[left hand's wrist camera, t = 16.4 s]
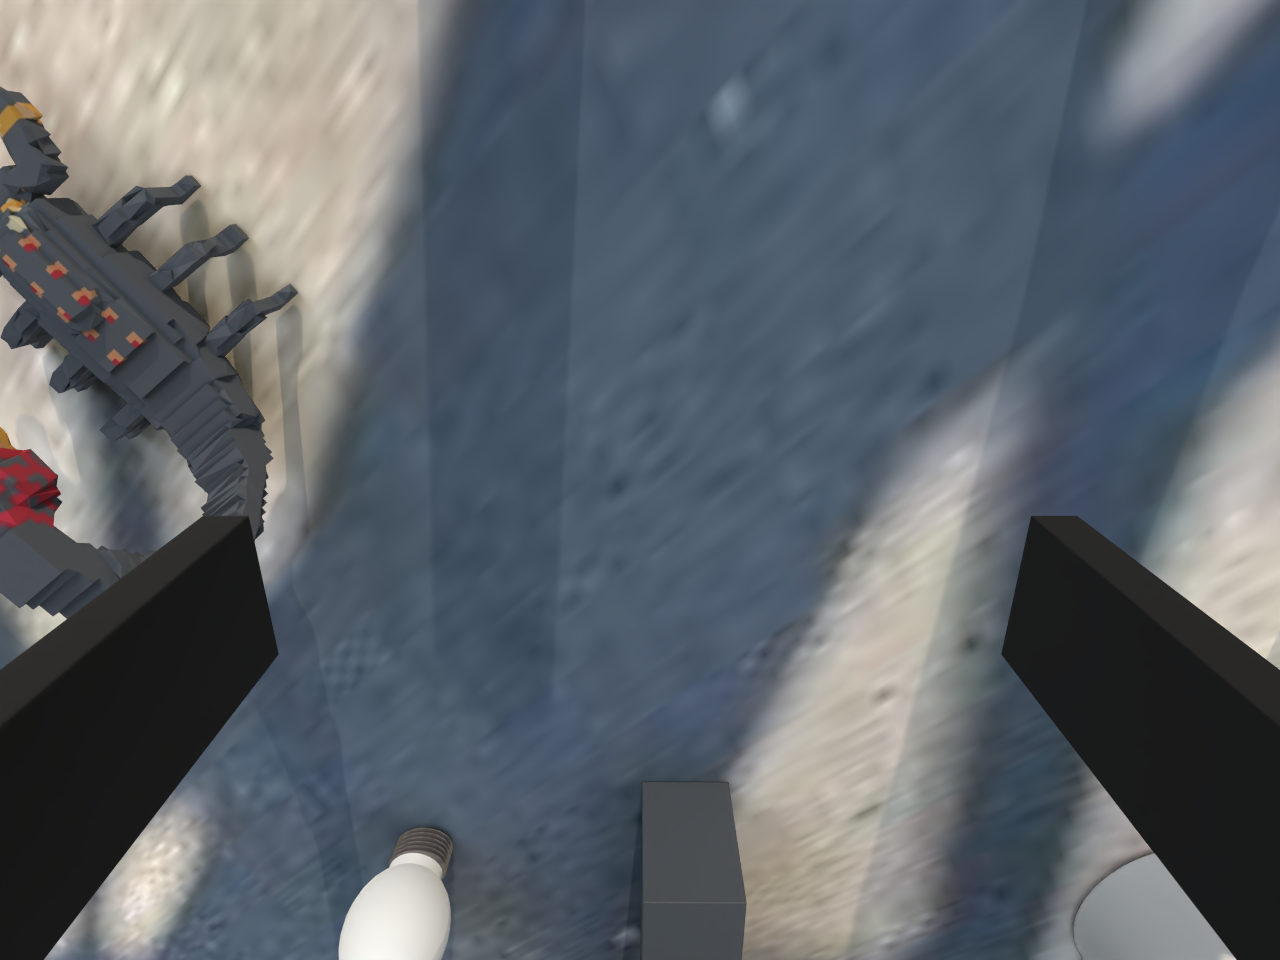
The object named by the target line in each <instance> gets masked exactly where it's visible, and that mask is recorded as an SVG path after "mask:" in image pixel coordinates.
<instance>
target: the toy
mask: <svg viewBox="0 0 1280 960" xmlns="http://www.w3.org/2000/svg"><path fill="white" fill-rule="evenodd" d="M41 117H42V115H41V113H40V112H39V111H38V110H37V109H36V108H35V107H34V106H33V105H32V104H31V103H30V102H29V101H28V100H27V99H26V98H25V97H24V96H23V95H22V93H19V92H12V91H7V90H5V89H3V88H2V87H0V136H1V138H2V140H3V142H4V144H5V146H6V148H7V150H8V152H9V154H10V156H11V158H12V159H13V161H14V162H15V164H16V165H12V166H4V167H2V168H1V169H0V277H1V276H2V275H3V276H4V278H6V279H7V280H8V281H9V282H10V285H11V286H12V287H13V288H14V289H15V290H16V291H17V292H19V293H20V294H21V295H22V296H23V297H24V298H25V299H26V301H25V302H24V303H23V304H22V305H21V306H20V307H19V308H18V310H17V311H16V312H15V314H14V315H13V316H12V318H11V319H10V320H9V322H8V323H7V325H6V326H5V327H4V329H3V332H2V335H1V338H2V339H3V340H4V341H6V342H7V343H8V344H9V346H10V348H11V349H14V348H18V347H22V346H25V345H29V344H31V345H32V346H33V347H34V348H44V347H45V345H46V344H47V343H48V342H49V341H50V340H51V339H52V338H55V339H56V340H57V341H58V342H59V343H60V344H61V345H62V346H63V347H64V348H66V349H67V350H68V351H69V352H70V353H69V354H68V355H66V356H65V358H64V362H63V363H62V364H61V365H60V366H59V367H58V368H57V369H56V370H55V371H54V372H53V374H52V377H51V380H50V386H51V387H53V388H54V389H55V390H56V391H57V392H58V393H63V392H65V391H67V390H70V389H72V388H75V389H76V390H77V392H79V391H82V390H85V389H87V388H88V387H89V386H90V385H92V384H93V383H94V382H95V381H96V380H97V379H98V378H99V379H100V380H101V381H102V382H103V383H105V384H107V385H108V386H110V387H111V388H112V389H113V390H114V391H115V392H116V393H117V394H118V395H119V396H120V397H121V398H123V399H124V400H125V401H126V402H127V404H126V405H125V406H124V407H123V408H122V409H121V410H120V411H119V412H117V413H116V414H115V415H114V416H113V417H112V418H111V419H110V420H109V421H108V422H107V423H106V424H105V425H104V426H103V427H102V428H101V429H100V431H101V432H102V433H103V434H104V435H106V436H107V437H108V438H109V439H110V440H111V441H112V442H115V441H116V440H118V439H120V438H121V437H123V436H126V437H127V438H128V439H131V438H133V437H135V436H137V435H138V434H140V433H141V432H142V431H143V430H144V429H145V428H146V427H147V426H149V425H150V424H149V423H148V422H147V421H146V420H145V419H144V417H145V418H146V419H147V420H148V421H149V422H150V423H151V424H152V425H153V427H154V428H155V429H156V430H159V429H165V430H166V431H167V432H168V434H169V435H170V437H171V438H172V439H171V441H172V442H173V443H174V444H175V445H176V446H177V447H178V450H177V451H178V452H179V453H180V454H181V455H182V456H183V457H184V458H185V459H186V460H187V463H188V467H189V469H190V470H191V471H192V473H193V474H194V477H195V478H196V479H197V480H196V481H195V482H196V483H197V484H198V485H199V486H200V487H201V488H203V489H204V490H205V492H207V493H208V499H207V503H206V504H205V505H203V506H202V507H201V509H202V510H203V511H204V513H203V514H202V515H203V516H249V519H250V524H251V529H252V533H253V538H254V541H255V539H256V538H257V537H258V536H259V535H260V534H261V533H262V532H263V531H264V527H263V523H264V522H265V521H264V520H263V519H262V515H263V514H264V513H265V512H266V511H264V510H263V509H262V508H261V507H263V506H264V505H265V504H266V503H267V502H266V501H265V500H264V499H263V498H264V497H265V496H266V495H267V494H268V493H267V492H266V491H265V490H264V489H265V488H266V479H267V478H268V475H267V472H266V466H265V465H266V464H267V463H269V462H270V461H271V460H272V459H273V457H272V456H271V455H270V453H272V452H271V451H270V450H269V449H268V448H267V447H266V446H265V445H264V443H265V442H266V441H265V440H264V439H263V438H262V437H264V434H263V432H262V431H261V424H262V423H263V422H264V421H265V419H264V418H263V416H262V414H261V412H260V410H259V409H258V408H257V406H256V405H255V404H254V402H253V401H252V399H251V398H250V396H249V395H248V393H247V392H246V390H245V389H244V388H243V386H242V384H241V381H240V380H241V379H240V377H239V375H238V373H237V372H236V370H235V369H234V368H233V366H232V365H231V363H230V362H229V361H228V359H227V358H226V357H224V356H225V355H226V354H227V353H228V352H229V351H230V350H231V349H232V348H233V347H234V346H235V345H236V344H237V343H238V342H239V341H240V340H241V339H242V338H243V337H244V336H245V335H246V334H247V333H248V332H249V331H251V330H252V329H253V328H255V327H256V326H257V325H258V324H260V323H261V322H262V321H264V320H265V319H266V318H267V317H266V316H265V315H267V314H269V313H271V312H274V311H277V310H279V309H281V308H282V307H283V306H284V305H285V304H286V303H287V302H289V301H290V300H291V299H292V298H293V297H294V296H295V295H296V294H298V292H297V291H296V290H295V289H294V288H293V287H292V286H291V284H289V285H288V286H286V287H285V288H283V289H281V290H280V291H278V292H277V293H275V294H274V295H273V296H271V297H268V298H265V299H262V300H259V301H256V302H252V301H251V300H250V299H249V300H246V301H244V302H242V303H241V304H240V305H239V306H238V307H237V308H236V309H235V310H234V311H233V312H232V313H231V314H230V315H229V316H225V317H224V318H223V319H222V320H221V321H220V322H219V323H218V324H217V325H216V326H215V327H214V328H213V329H212V330H211V331H210V332H209V333H208V331H209V327H210V326H209V325H208V324H207V323H206V322H205V321H204V319H203V318H202V317H201V316H200V315H199V314H198V313H197V312H196V311H195V309H194V308H193V307H192V306H191V305H190V304H189V303H187V302H185V301H182V300H181V298H180V297H179V296H178V294H177V293H176V292H175V290H174V289H173V288H172V287H174V286H176V285H178V284H179V283H181V282H182V281H183V280H184V279H185V278H187V277H188V276H189V275H190V274H191V273H193V272H194V271H195V270H196V269H197V268H199V267H200V266H201V265H202V264H203V263H205V262H206V261H207V260H208V259H209V258H211V257H219V256H226V255H228V254H231V253H233V252H235V251H236V250H237V249H238V248H239V247H240V246H241V245H242V244H243V243H244V242H245V241H246V240H248V239H249V238H248V237H247V236H246V235H245V234H244V233H243V231H242V230H241V229H240V228H239V227H238V226H237V225H236V224H233V225H229V226H228V227H227V228H225V229H224V230H223V231H222V232H220V233H219V234H218V235H216V236H215V237H212V238H210V239H208V240H201V241H195V242H192V243H189V244H186V245H184V246H183V247H182V248H181V249H180V250H179V251H178V252H177V253H175V254H174V255H173V256H172V257H171V258H170V259H169V260H168V261H167V262H166V263H165V264H164V265H162V266H161V267H160V268H159V269H158V270H156V269H155V268H154V267H153V266H152V264H151V263H150V262H149V261H148V260H147V259H146V258H145V257H144V256H143V255H142V254H141V253H140V252H139V251H130V252H128V251H127V250H126V249H125V248H124V247H123V245H122V243H123V242H124V241H125V240H126V238H127V237H128V236H129V235H130V234H131V233H132V232H133V231H134V230H135V229H136V228H137V227H138V226H140V225H141V224H143V223H144V222H145V221H146V220H148V219H149V218H150V217H151V216H152V215H154V214H155V213H156V212H157V211H158V210H160V209H161V208H162V207H164V206H167V205H177V204H183V203H184V202H185V201H186V200H187V199H188V198H189V197H190V196H191V195H192V194H193V193H194V192H195V191H196V190H197V189H198V188H199V187H200V186H201V185H200V184H199V183H198V182H197V181H196V180H195V178H194V177H193V176H185V177H183V178H182V179H181V180H180V181H179V182H177V183H176V184H175V185H173V186H171V187H158V188H143V187H139V186H136V187H134V188H133V189H132V190H131V191H130V192H128V193H127V194H126V195H125V196H124V197H123V198H121V199H120V200H119V201H118V202H117V203H116V204H115V205H114V206H113V207H111V208H110V209H109V210H108V211H107V212H106V213H105V214H104V215H103V216H102V217H100V218H99V219H98V220H97V219H96V218H95V217H94V216H93V215H88V214H87V213H86V212H85V211H84V210H83V209H82V208H81V207H80V206H79V204H78V203H76V202H74V201H73V200H71V199H69V198H46V197H45V196H44V194H45V195H51V194H52V193H53V192H54V191H55V190H56V189H57V188H58V187H59V186H60V185H61V184H62V183H63V182H64V181H65V180H66V179H67V178H68V177H69V176H68V174H67V173H66V170H67V168H68V167H67V166H65V165H64V164H63V163H61V161H60V159H59V158H58V157H57V156H58V155H59V154H60V153H61V151H60V150H59V149H58V147H57V146H56V145H55V144H54V143H53V141H52V140H51V139H50V138H49V136H50V135H51V134H50V133H49V132H47V131H46V130H45V128H44V126H43V124H42V122H41V121H40V120H39V119H40V118H41ZM57 479H58V475H57V474H55V473H54V472H53V471H52V470H51V469H50V468H49V467H48V466H47V465H46V464H45V463H44V462H43V461H42V460H41V459H40V458H39V457H38V456H37V455H36V454H35V453H34V452H33V451H32V450H31V449H29V450H16V449H15V448H14V447H13V446H12V445H11V443H10V441H9V438H8V435H7V433H6V432H5V431H4V430H3V429H2V428H1V427H0V593H1V594H3V595H4V596H5V597H6V598H8V599H9V600H10V601H11V602H13V603H14V604H15V605H16V606H17V607H19V608H21V607H22V606H24V605H25V604H27V605H28V606H29V607H31V608H32V609H35V608H36V607H37V606H39V605H40V606H41V607H42V608H43V609H45V610H46V611H47V612H48V613H49V614H51V615H52V616H54V615H56V614H57V613H58V612H59V613H61V614H62V615H63V616H64V617H65V618H67V619H68V618H69V617H71V616H72V615H73V614H75V613H76V612H77V611H79V610H80V609H81V608H83V607H84V606H85V605H87V604H88V603H89V602H90V601H92V600H93V599H94V598H96V597H97V596H98V595H100V594H101V593H102V592H104V591H105V590H106V589H108V588H109V587H110V586H112V585H113V584H114V583H116V582H117V581H118V580H119V579H121V578H122V577H123V576H125V575H126V574H127V573H129V572H130V571H131V570H133V569H134V568H135V567H137V566H138V565H139V564H141V563H142V562H143V561H144V560H146V559H147V558H148V557H150V556H151V555H152V554H154V553H155V551H153V550H151V551H150V552H148V553H147V554H146V555H144V556H142V555H140V554H139V553H137V552H135V553H133V554H130V553H128V552H127V551H126V550H124V551H116V550H111V549H107V548H105V547H103V546H101V547H100V548H98V549H96V548H94V547H93V546H92V545H91V544H90V543H76V542H75V541H74V540H72V539H71V538H70V537H68V536H67V535H65V534H64V533H63V532H61V531H60V530H59V529H57V528H56V527H55V526H53V525H54V513H55V511H56V510H57V509H58V507H59V506H60V505H61V503H62V501H61V500H59V499H58V498H57V497H58V496H59V495H60V494H61V493H60V491H59V490H58V488H57V487H56V486H57Z"/></svg>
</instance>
